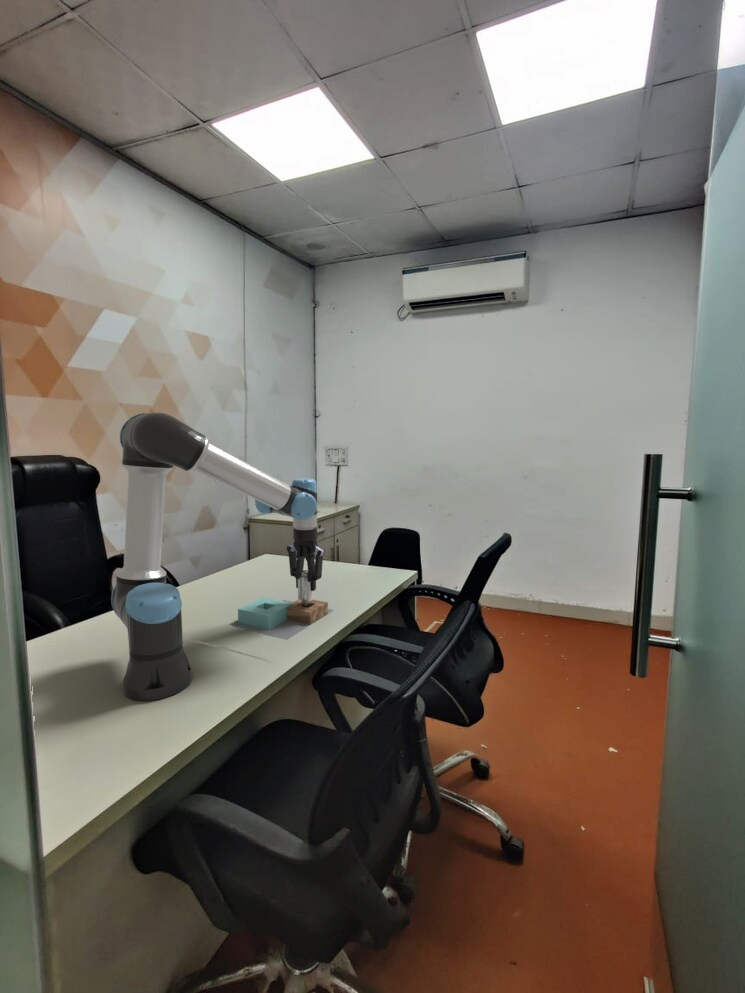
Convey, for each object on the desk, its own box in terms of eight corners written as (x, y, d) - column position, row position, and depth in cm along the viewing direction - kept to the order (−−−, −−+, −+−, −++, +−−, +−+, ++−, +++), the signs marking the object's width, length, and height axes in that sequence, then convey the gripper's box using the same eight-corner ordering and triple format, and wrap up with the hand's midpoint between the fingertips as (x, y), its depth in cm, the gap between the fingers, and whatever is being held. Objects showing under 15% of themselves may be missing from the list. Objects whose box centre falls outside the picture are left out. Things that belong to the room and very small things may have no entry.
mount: (310, 624, 149) (310, 612, 149) (284, 619, 154) (284, 607, 153) (327, 614, 158) (327, 602, 158) (302, 608, 163) (302, 597, 162)
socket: (268, 629, 146) (268, 615, 145) (238, 622, 151) (237, 609, 150) (292, 616, 156) (292, 603, 156) (263, 610, 162) (263, 597, 161)
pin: (307, 618, 154) (307, 573, 152) (299, 617, 155) (299, 571, 153) (312, 615, 157) (312, 570, 155) (305, 614, 158) (304, 569, 156)
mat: (286, 641, 139) (286, 639, 139) (231, 627, 148) (231, 625, 148) (334, 611, 162) (334, 610, 162) (283, 601, 171) (283, 599, 171)
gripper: (333, 527, 152) (333, 599, 155) (291, 523, 159) (292, 591, 162) (320, 532, 145) (320, 607, 148) (277, 527, 152) (278, 598, 156)
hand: (306, 598), depth 155 cm, fingers closed on pin, 3 cm apart
